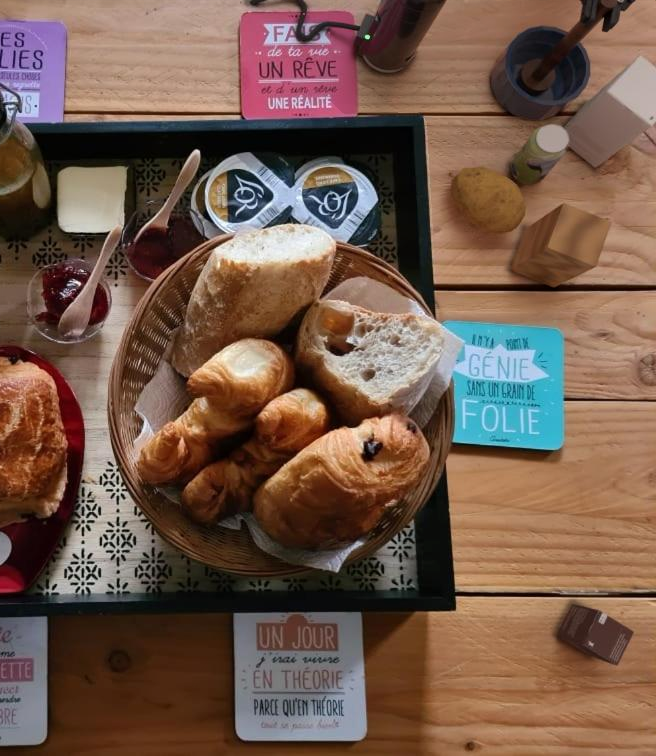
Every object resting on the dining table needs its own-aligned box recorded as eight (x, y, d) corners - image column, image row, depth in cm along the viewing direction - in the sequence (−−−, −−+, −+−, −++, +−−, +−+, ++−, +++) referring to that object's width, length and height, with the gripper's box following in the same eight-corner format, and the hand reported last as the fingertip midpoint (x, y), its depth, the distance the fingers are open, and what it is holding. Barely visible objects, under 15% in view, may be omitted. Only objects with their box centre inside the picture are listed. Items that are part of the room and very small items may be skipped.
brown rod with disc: (524, 100, 130) (599, 24, 108) (510, 71, 130) (582, -11, 109) (555, 90, 130) (636, 11, 108) (541, 60, 131) (619, -24, 109)
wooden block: (509, 269, 126) (547, 247, 114) (524, 228, 127) (563, 202, 115) (553, 287, 126) (596, 267, 114) (568, 246, 127) (612, 221, 115)
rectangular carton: (625, 134, 130) (687, 89, 115) (594, 169, 129) (652, 128, 114) (585, 101, 131) (641, 52, 116) (554, 136, 130) (606, 90, 115)
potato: (498, 140, 120) (458, 171, 118) (551, 203, 119) (511, 235, 117) (467, 165, 129) (429, 195, 127) (516, 224, 128) (478, 254, 126)
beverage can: (543, 187, 128) (584, 157, 116) (501, 186, 128) (537, 156, 116) (541, 153, 129) (581, 120, 117) (500, 152, 129) (535, 119, 117)
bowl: (477, 104, 130) (493, 85, 124) (504, 34, 132) (521, 13, 126) (555, 134, 130) (575, 117, 124) (581, 64, 132) (601, 44, 126)
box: (588, 656, 117) (617, 667, 109) (554, 635, 117) (581, 645, 110) (605, 622, 118) (635, 631, 110) (572, 602, 118) (600, 609, 111)
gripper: (585, -104, 109) (566, -1, 106) (678, -83, 108) (661, 21, 106) (557, -66, 116) (539, 31, 114) (644, -46, 116) (627, 51, 113)
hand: (598, 26), depth 110 cm, fingers closed on brown rod with disc, 2 cm apart
